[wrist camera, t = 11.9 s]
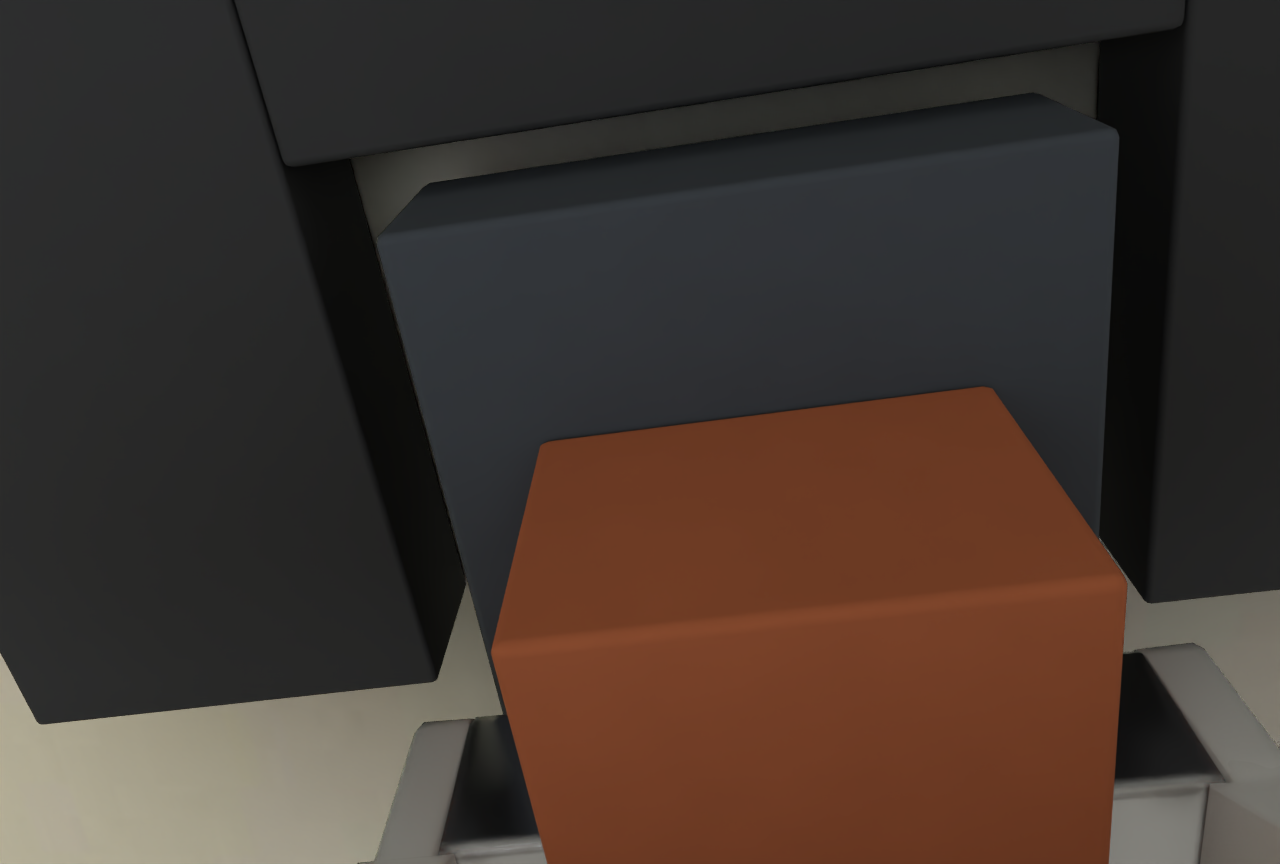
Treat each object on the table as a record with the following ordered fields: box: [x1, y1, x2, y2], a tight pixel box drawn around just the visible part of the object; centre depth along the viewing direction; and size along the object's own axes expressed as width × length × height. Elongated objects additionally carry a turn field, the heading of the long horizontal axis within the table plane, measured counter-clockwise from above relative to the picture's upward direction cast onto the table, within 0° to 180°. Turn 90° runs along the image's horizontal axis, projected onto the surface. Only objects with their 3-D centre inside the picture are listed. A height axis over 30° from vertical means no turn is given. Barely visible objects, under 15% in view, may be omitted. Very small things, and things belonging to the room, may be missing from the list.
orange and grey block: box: [377, 93, 1127, 864], centre depth 10 cm, size 6×10×5 cm, turn 9°
